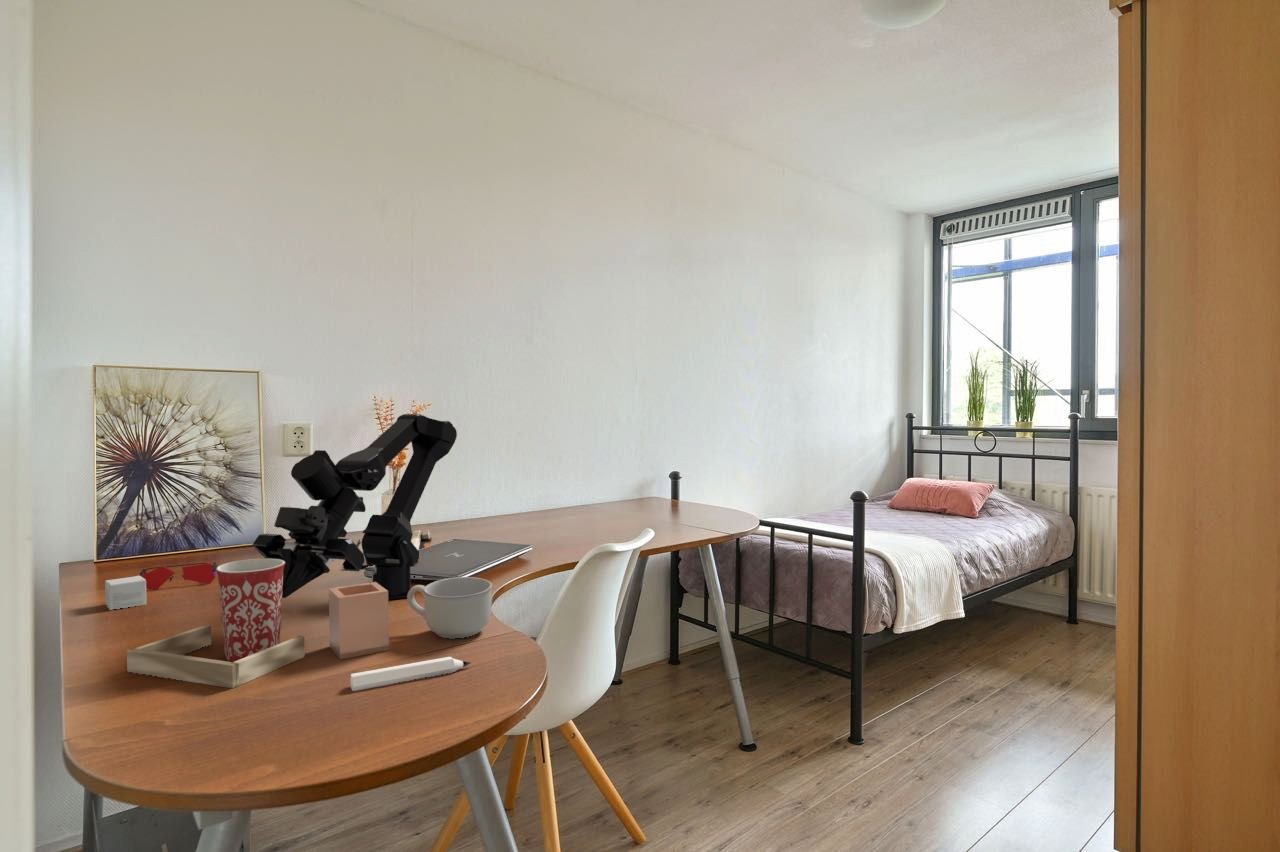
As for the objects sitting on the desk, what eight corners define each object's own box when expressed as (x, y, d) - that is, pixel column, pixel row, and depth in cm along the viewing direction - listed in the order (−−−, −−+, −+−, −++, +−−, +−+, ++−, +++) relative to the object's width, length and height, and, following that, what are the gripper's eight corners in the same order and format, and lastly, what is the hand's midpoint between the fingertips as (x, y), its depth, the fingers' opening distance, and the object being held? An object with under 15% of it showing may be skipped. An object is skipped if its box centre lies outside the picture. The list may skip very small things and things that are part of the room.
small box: (140, 599, 140) (140, 574, 140) (147, 605, 136) (146, 579, 135) (104, 605, 136) (103, 579, 136) (110, 611, 132) (109, 584, 131)
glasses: (136, 594, 145) (135, 569, 145) (143, 577, 159) (143, 555, 159) (217, 585, 152) (216, 561, 152) (217, 570, 166) (216, 548, 166)
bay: (206, 644, 113) (206, 625, 113) (304, 656, 107) (304, 636, 107) (127, 672, 101) (126, 650, 101) (232, 688, 95) (232, 665, 95)
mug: (285, 659, 106) (283, 567, 106) (214, 668, 102) (211, 573, 102) (289, 634, 118) (287, 551, 117) (225, 642, 114) (223, 556, 114)
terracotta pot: (376, 638, 116) (375, 581, 115) (389, 650, 110) (388, 591, 110) (329, 646, 112) (328, 588, 111) (340, 659, 106) (339, 598, 106)
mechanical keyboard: (430, 568, 168) (430, 553, 168) (342, 574, 163) (341, 559, 163) (431, 540, 205) (431, 528, 205) (359, 544, 200) (359, 531, 199)
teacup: (504, 627, 121) (504, 579, 121) (469, 647, 111) (468, 595, 111) (433, 619, 126) (432, 573, 125) (393, 638, 115) (392, 588, 115)
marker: (472, 674, 102) (351, 696, 94) (468, 663, 104) (349, 683, 96) (475, 661, 101) (353, 682, 93) (471, 650, 103) (351, 669, 95)
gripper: (260, 486, 123) (204, 564, 112) (352, 489, 117) (300, 572, 106) (296, 525, 130) (246, 602, 120) (384, 530, 124) (339, 611, 114)
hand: (281, 596), depth 115 cm, fingers closed
